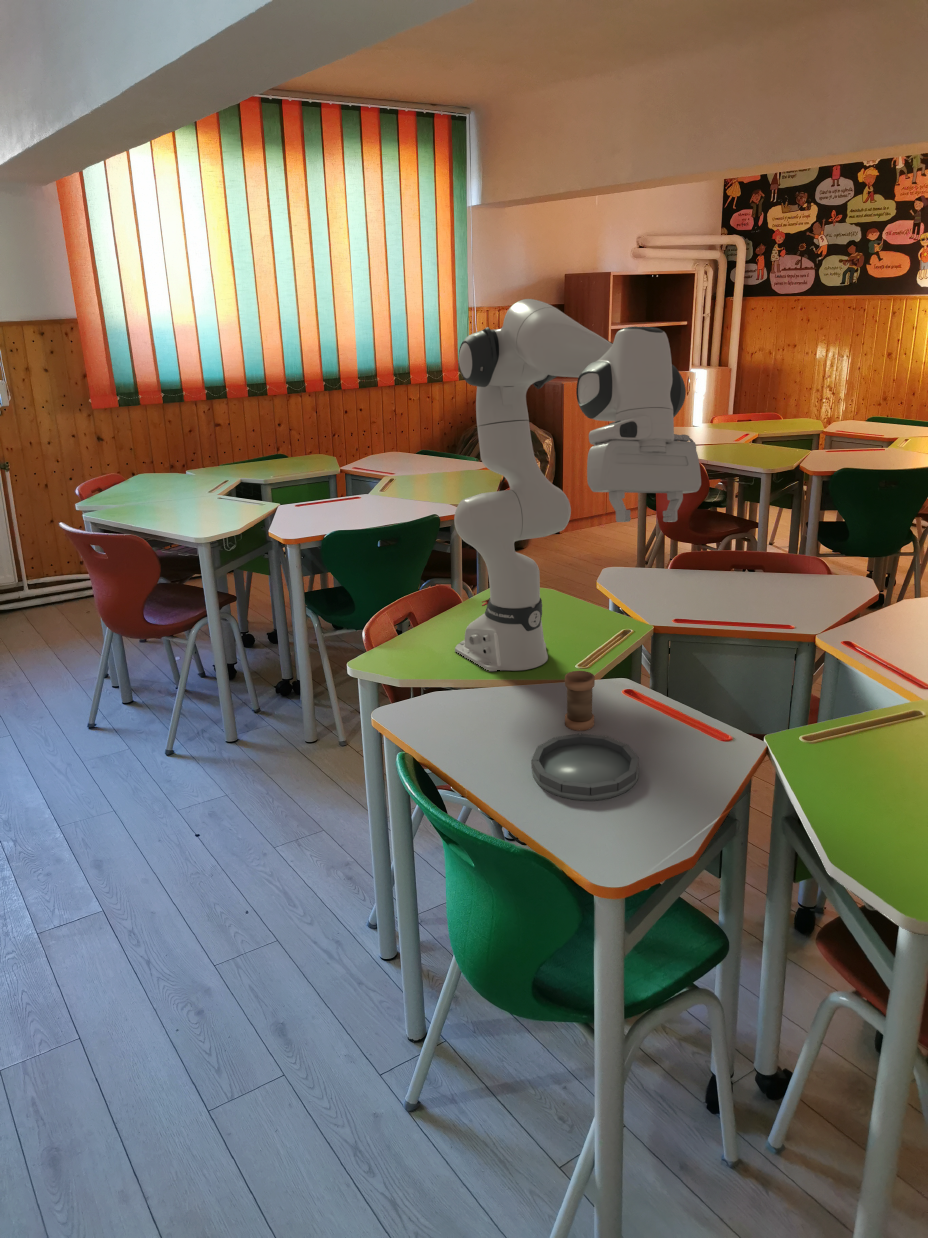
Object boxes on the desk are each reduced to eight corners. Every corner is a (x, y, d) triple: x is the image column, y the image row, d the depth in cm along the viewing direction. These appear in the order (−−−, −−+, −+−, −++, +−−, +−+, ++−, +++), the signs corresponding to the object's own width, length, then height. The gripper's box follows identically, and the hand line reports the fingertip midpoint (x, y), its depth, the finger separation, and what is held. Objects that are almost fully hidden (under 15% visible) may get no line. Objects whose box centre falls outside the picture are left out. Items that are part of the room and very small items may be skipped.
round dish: (510, 773, 155) (510, 760, 154) (578, 735, 167) (578, 723, 166) (592, 813, 143) (593, 800, 142) (659, 770, 154) (660, 757, 153)
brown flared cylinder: (559, 724, 171) (558, 677, 168) (577, 714, 175) (577, 668, 171) (581, 733, 168) (581, 686, 164) (600, 723, 171) (600, 676, 168)
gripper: (681, 438, 145) (683, 522, 146) (579, 432, 135) (582, 523, 136) (709, 431, 139) (711, 520, 140) (605, 425, 130) (608, 520, 130)
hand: (647, 521), depth 138 cm, fingers open, 8 cm apart
